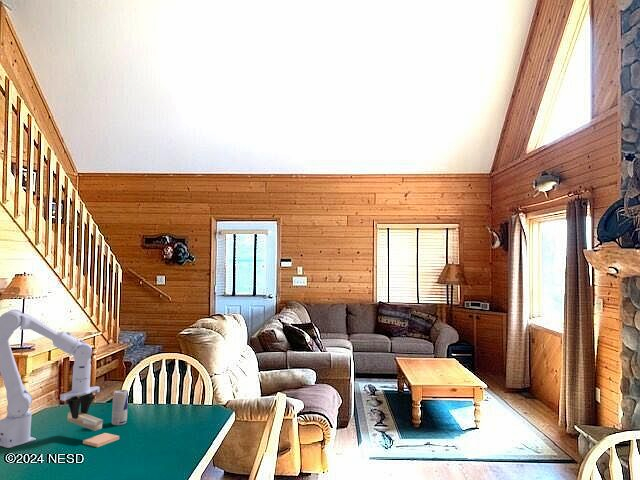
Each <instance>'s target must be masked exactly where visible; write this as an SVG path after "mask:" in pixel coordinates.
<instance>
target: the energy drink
mask: <svg viewBox="0 0 640 480" xmlns="http://www.w3.org/2000/svg"><path fill="white" fill-rule="evenodd" d="M128 402H129V392H128V390H127V389H118V390H114V391H113V393H112V411H111V425H113V426H122V425H125V424H126V423H127V421H128V407H129V406H128V405H129V404H128Z"/></svg>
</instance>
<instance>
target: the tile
mask: <svg viewBox="0 0 640 480" xmlns="http://www.w3.org/2000/svg"><path fill="white" fill-rule="evenodd" d="M118 440H120V435H117V434H112V433H108V432H103V433H101V434H98V435H94V436H92V437H89V438H86V439H83V440H82V444H83V445H87V446H92V447H96V448H99V447H102V446H105V445H108V444H110V443H113V442H115V441H118Z"/></svg>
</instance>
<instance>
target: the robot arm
mask: <svg viewBox="0 0 640 480" xmlns="http://www.w3.org/2000/svg"><path fill="white" fill-rule="evenodd" d="M18 328H19V330H31V331H34V332H35V333H37V334H39V335H41V336H43V337H45V338H47V339H49V340H51V341H52V345H53V346H54V347H55V348H57V349H59V350H61V351H62V352H64V353H66V354H68V355H72V356H73V358H74V359H73V360H74V362H73V365H72V380H71V381H72V383H71V385H72V386H71V390H70V391H67V392H65V393H60V394H59V398H60V399H59V400H60V401H61V402H62V401H63V402H64V401H65V402H66V403H67V405H68V407H69V410H70V412H71V414H72V418H74V419H78V415H79V412H82V413H85V414H88V412H89V409H90V406H91V404H92V403H93V400H94V399H95V394H96V393H100V389H101V388H100V387H101V386H97V385H94V386H91V373H92V372H91V371H92V364H91V361H92V359H91V357H92V355H93V353H92V352H93V349H92V346H91V345H90V344H89V343H88V342H86V341H84V340H83V339H78V338H76V337H75V336H73V335H72V333H71V332H70V331H64V330H63V331H59V332H58V331H56V330H54V329H53V328H52V327H50V326H48V325H47V324H45V323H43V321H41V320H39V319H37V318H36V317H33V316H31V315H30V314H27V313H25V312H24V313H23V312H22V311H21V310H19V309H11V310H8V311H7V312H4V313H2V314H1V315H0V376H1V378H2V381H3V383H4V384H3V385H4V387H5V391H6V394H5V395H6V400H7V404H6V412H7V414H6V416H5V417H3V418H1V419H0V447H4V448H6V449H7V448H8V449H10V448H14V447H17V446H20V445H23V444H26V443H27V444H28V443H30V442H34V441H36V440H37V438H35V437H32V436H31V429H32V416H33V415H32V412H33V411H32V410H31V409H30V407H31V405H32V403H33V397H32V395H31V394H30V393H29V391H27V387H26V386H25V385H24V383H23V381H22V377H21V374H20V372H19V368H18V365H17V362H16V359H15V356H14V353H13V351H12V348H11V344H10V342H9V340H10V338H11V336H13V334H14V332H15V331H16V330H17V329H18ZM94 393H95V394H94Z"/></svg>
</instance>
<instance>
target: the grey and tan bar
mask: <svg viewBox="0 0 640 480" xmlns="http://www.w3.org/2000/svg"><path fill="white" fill-rule="evenodd" d="M66 419H67V420H66V421H67V422H68V423H69V422H70V423H73V424H75V425H78V426H80V427H82V428H85V429H89V430H90V431H91V430H92V431H93V432H96V431H99V430H101V429H103V423H104V419H101V418H98V417H96V416H93V415H91V414H88V413H87V414H85V413H82V412H81V411H79V415H78V419H74V418H72V414H71V411H68V412H67V418H66Z"/></svg>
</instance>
